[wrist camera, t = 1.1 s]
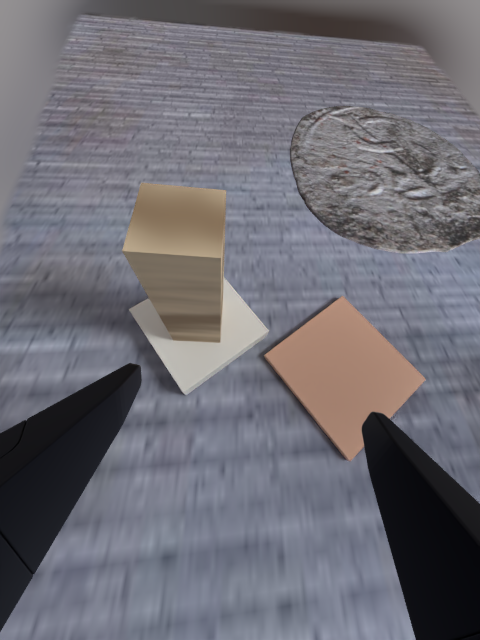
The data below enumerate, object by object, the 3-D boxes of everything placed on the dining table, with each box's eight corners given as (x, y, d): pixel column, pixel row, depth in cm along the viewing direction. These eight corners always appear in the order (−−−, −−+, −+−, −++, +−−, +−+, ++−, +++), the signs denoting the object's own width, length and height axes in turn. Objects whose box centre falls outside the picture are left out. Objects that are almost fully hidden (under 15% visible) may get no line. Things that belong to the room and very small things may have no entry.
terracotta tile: (346, 460, 22) (350, 461, 21) (263, 356, 25) (264, 354, 24) (421, 380, 25) (426, 379, 25) (340, 298, 28) (342, 295, 28)
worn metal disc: (406, 101, 49) (407, 98, 48) (534, 229, 36) (537, 227, 36) (254, 116, 42) (254, 114, 42) (347, 278, 30) (349, 277, 30)
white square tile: (186, 395, 23) (183, 393, 21) (135, 317, 26) (128, 309, 24) (265, 337, 26) (268, 330, 24) (212, 272, 28) (211, 262, 27)
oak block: (220, 342, 23) (221, 258, 11) (173, 340, 23) (122, 251, 11) (223, 301, 25) (225, 190, 13) (179, 298, 25) (141, 182, 13)
